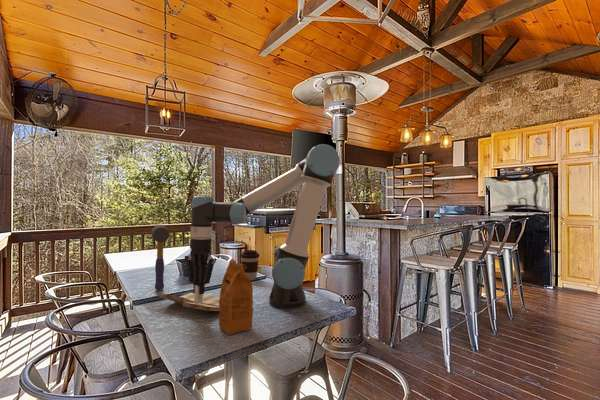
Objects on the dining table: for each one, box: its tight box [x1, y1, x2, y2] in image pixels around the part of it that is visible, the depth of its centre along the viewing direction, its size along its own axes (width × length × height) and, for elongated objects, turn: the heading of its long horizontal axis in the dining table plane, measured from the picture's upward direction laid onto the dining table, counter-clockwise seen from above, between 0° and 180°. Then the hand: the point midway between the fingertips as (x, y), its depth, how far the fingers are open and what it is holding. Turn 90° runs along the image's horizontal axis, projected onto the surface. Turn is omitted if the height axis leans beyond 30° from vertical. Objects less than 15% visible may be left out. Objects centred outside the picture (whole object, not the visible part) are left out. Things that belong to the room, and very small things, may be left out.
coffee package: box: [218, 258, 254, 336], centre depth 103 cm, size 10×12×22 cm
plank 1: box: [157, 293, 194, 304], centre depth 121 cm, size 12×9×1 cm
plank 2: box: [181, 302, 219, 312], centre depth 116 cm, size 12×9×1 cm
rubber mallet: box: [150, 224, 171, 291], centre depth 144 cm, size 12×8×30 cm, turn 29°
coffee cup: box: [240, 249, 260, 281], centre depth 167 cm, size 10×10×15 cm
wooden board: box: [175, 292, 220, 307], centre depth 127 cm, size 25×9×2 cm, turn 67°
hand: (198, 302), depth 113 cm, fingers closed
